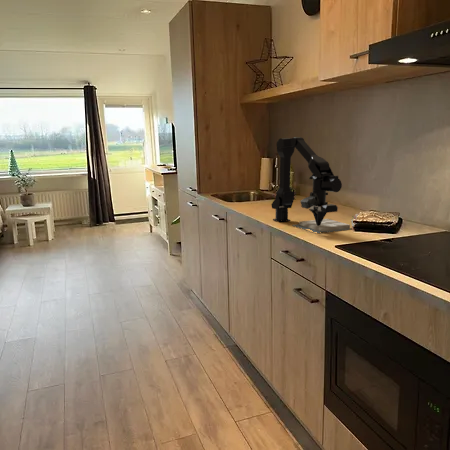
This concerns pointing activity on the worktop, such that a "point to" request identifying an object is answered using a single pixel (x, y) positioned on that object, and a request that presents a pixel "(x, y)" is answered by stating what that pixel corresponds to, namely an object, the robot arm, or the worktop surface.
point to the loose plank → (322, 227)
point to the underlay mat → (318, 231)
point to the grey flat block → (337, 223)
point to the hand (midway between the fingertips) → (318, 225)
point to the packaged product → (354, 218)
